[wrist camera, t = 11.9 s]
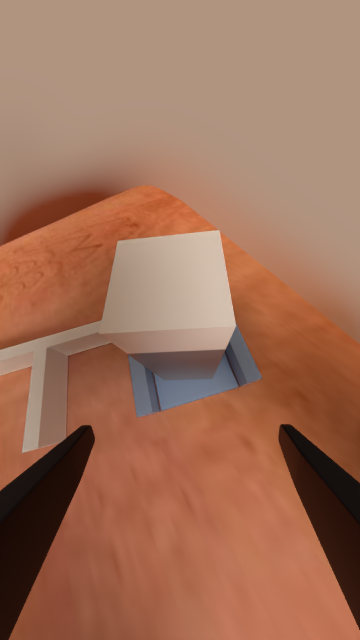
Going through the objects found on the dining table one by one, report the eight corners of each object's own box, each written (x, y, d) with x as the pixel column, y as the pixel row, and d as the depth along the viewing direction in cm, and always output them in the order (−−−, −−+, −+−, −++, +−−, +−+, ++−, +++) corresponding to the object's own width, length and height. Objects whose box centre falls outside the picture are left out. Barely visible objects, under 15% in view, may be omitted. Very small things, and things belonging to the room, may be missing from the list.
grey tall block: (212, 378, 16) (235, 326, 5) (164, 380, 17) (98, 334, 6) (208, 333, 18) (219, 230, 7) (165, 336, 19) (117, 240, 8)
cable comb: (-45, 475, 15) (-98, 490, 12) (-19, 371, 19) (-55, 365, 17) (252, 382, 16) (262, 378, 13) (215, 301, 20) (218, 285, 17)
